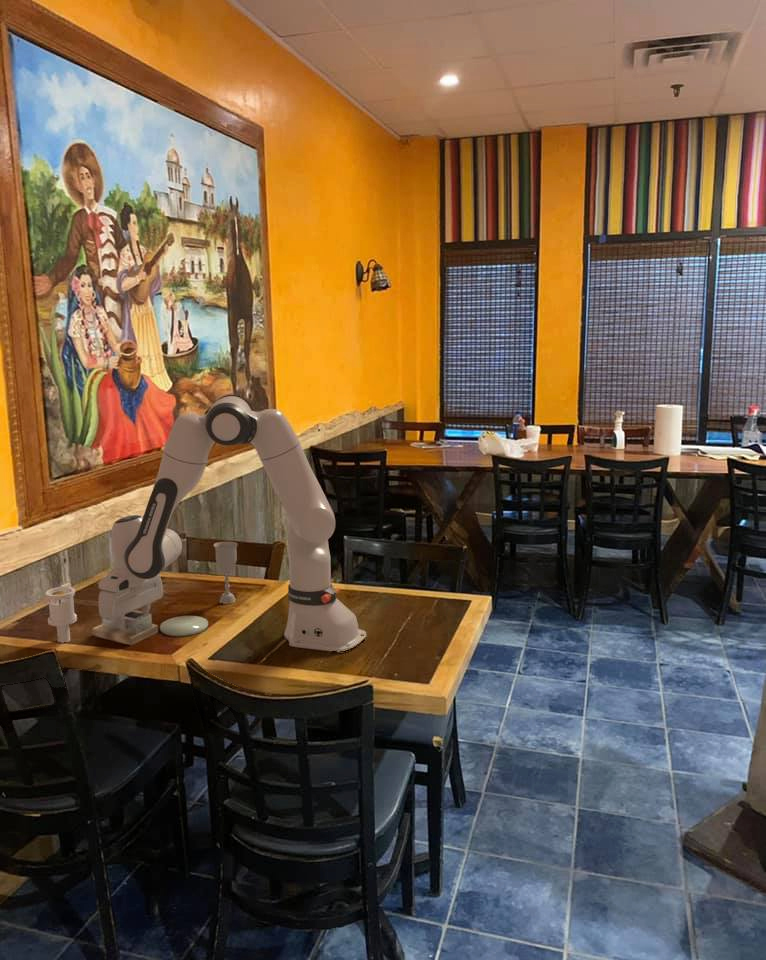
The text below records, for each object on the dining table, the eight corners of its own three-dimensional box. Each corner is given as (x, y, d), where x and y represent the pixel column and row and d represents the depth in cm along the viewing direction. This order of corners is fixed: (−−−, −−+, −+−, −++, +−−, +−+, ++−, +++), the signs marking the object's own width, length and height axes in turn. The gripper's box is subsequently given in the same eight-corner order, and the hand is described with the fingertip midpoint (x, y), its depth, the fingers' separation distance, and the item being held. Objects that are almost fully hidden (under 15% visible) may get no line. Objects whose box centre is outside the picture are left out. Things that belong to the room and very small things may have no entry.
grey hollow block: (152, 627, 206) (151, 613, 206) (135, 635, 201) (135, 621, 200) (119, 619, 212) (118, 606, 211) (102, 627, 206) (101, 613, 206)
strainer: (84, 637, 205) (80, 584, 202) (66, 647, 198) (62, 592, 195) (62, 634, 207) (57, 581, 204) (43, 644, 200) (39, 590, 197)
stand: (158, 631, 209) (156, 593, 206) (131, 645, 200) (128, 604, 198) (120, 622, 215) (117, 585, 212) (92, 635, 206) (89, 596, 204)
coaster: (217, 623, 215) (217, 620, 215) (186, 639, 204) (186, 636, 203) (181, 615, 221) (181, 612, 220) (149, 630, 209) (149, 628, 209)
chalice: (242, 597, 235) (240, 542, 232) (236, 605, 229) (234, 548, 225) (219, 596, 236) (217, 541, 232) (212, 604, 229) (210, 547, 226)
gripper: (149, 563, 213) (152, 609, 216) (93, 584, 195) (96, 635, 198) (167, 566, 210) (169, 613, 213) (111, 588, 192) (114, 639, 195)
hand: (134, 624), depth 205 cm, fingers closed on grey hollow block, 6 cm apart
